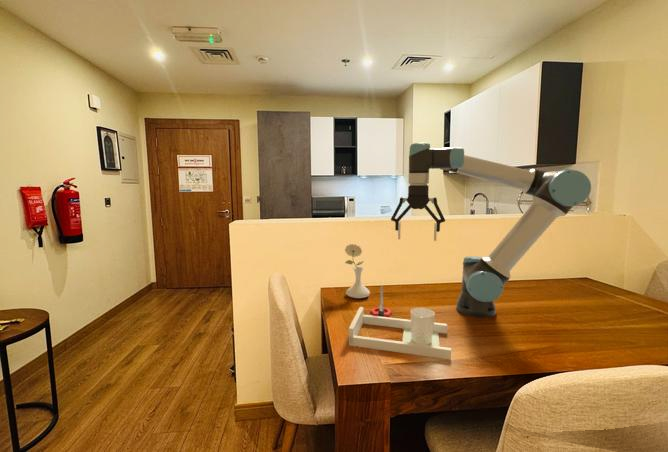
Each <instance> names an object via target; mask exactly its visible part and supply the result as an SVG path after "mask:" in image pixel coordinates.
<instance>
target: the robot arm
mask: <svg viewBox="0 0 668 452" xmlns="http://www.w3.org/2000/svg"><path fill="white" fill-rule="evenodd" d="M408 153H409V154H408V187H407V188H408V190H407V197H403V196H402V197H401V196H400V197H399V203H398V204H397V207H396V208H395V210H394V211H393V214H392V215H391V218H390V221H391V222H394V224H395V226H394V228H395V231H396V232H397V239H398V240H401V226H402V223H401V222H400V221H401V219H402V218H403V217H404V216H405V215H406V214H407V213H408V212H409V211H410V210H411V209H413V210H423V209H424V210H425V211H426V212H427V213H428V214H429V215H430V216H431V218H432V219H433V220H434V221H435V222H434V225H433V227H434V228H433V229H434V230H433V241H434V242H436V241H437V235H438V233H439V232H440V231H441V223H445V222H446V219H445V217H444V215H443V213H442V211H441V208H440V206H439V204H438V199H437V197H429V187H430V186H429V183H430V169H431V170H432V169H434V170H435V169H437V170H438V169H440V170H442V171H448V172H451V173H455V174H459V175H463V176H468V177H471V178H475V179H479V180H482V181H487V182H491V183H494V184H499V185H502V186H505V187H509V188H514V189H517V190H521V192H522V193H523V194H525V195H528V196H532V204H531V205H530V206H529V207H528V209H527V210H526V211H525V212H524V213H523V215H521V217H520V218H519V219H518V221H517V222H516V223H515V224H514V225H513V226H512V228H511V229H510V230H509V231H508V233H506V235H505V236H504V237H503V238H502V240H501V241H500V242H499V243H498V245H497V246H496V247H495V248H494V250H492V252H491V253H489V255H488V256H470V255H469V256H465V257H463V262H462V279H461V280H462V281H461V292H460V294H459V296H458V299H457V301H456V307H455V308H456V311H458V312H459V313H461V314H463V315H466V316H468V317H473V318H481V319H486V318H487V319H488V318H492V317H495V316H496V314H497V307H496V305H495V301H496V300H498V299H499V298H500V297H501V296H502V294H503V291H504V285H506V283H507V282H508V281H509V280H510V279H511V271H512V270H513V268H514V267H515V266H516V265H517V263H519V261H520V260H521V259H523V257H524V256H525V255H526V254H527V252H528V251H529V250H530V249H531V248H532V246H533V245H534V244H535V243H536V242H537V241H538V240H539V238H540V237H541V236H542V235H543V234H544V233H545V232H546V231H547V229H548V228H549V227H550V226H551V225H552V224H553V223H554V221H555V220H556V219H557V218H559V217H564V216H567V214H568V213H569V212H570V211H571V210H572V209H573V207H576V206H578V205H580V204H582V203H584V202H585V201H586V200H587V199H588V198H589V196H590V194H591V191H592V185H591V183H592V182H591V180H590V178H589V177H588V176H587V175H586V174H585V173H583V172H582V171H580V170H576V169H570V168H565V169H561V170H540V169H536V168H531V169H529V170H528V169H523V168H519V167H516V166H512V165H508V164H504V163H499V162H495V161H491V160H488V159H487V160H486V159H482V158H479V157H474V156H469V155H466V154H465V149H464V147H455V146H453V147H441V148H440V147H437V148H436V147H435V148H434V147H433V148H432V147H431V144H430V143H428V142H415V143H411V144H410V146H409V152H408ZM405 202H407V203H408V206H407V207H406V208H405V209H404V210H403V211H402V213H400V214H399V216H398V217H397V215H398V213H399V211H400V209H401V207H402V206H403V204H405ZM429 202H431V204H433V206H434V208H435V210H436V212H437V214H438V216H439V218H440V219H439V218H438V217H437V216H436V214H435V213H434V212H433V211H432V210H431V209H430V208H429V206H428V204H429ZM396 217H397V218H396Z"/></svg>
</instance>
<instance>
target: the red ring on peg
mask: <svg viewBox="0 0 668 452" xmlns="http://www.w3.org/2000/svg"><path fill="white" fill-rule="evenodd" d="M370 313H371V314H372V316H381V317H390V316H391V315H392V310H391V309H390V308H387V307H384V285H380V291H379V305H378V307H373V308H371V310H370ZM390 318H391V317H390Z"/></svg>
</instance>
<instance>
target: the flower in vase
mask: <svg viewBox="0 0 668 452" xmlns="http://www.w3.org/2000/svg"><path fill="white" fill-rule="evenodd" d="M344 252H345V254H346V255H347V256H350V257H352V258H356V257H358V256H361V254H362V253H363V250H362V248H361V247H360V245H358V244H353V243H352V244H347V245H346V246H345V249H344ZM344 263H345V264H348V265H353V264H354V266H353V267H352V269H353V270H354V274H355V283H353V285H351V286H350V287H349V288H348V289H346V291H345V294H346V295H347V297H350V298H352V299H364V298H368V297H369V296H370V294H371V291H370V290H369V289H368V288H367V287H366V286H365V285H364V284H362V282H361V279H362V278H361V276H362V273H363V270H364V267H363V266H360V265H362V264H363V263H364V260H362V261H359V262H357V263H355V261H354V260H350V259H347V260H346V261H345V262H344Z"/></svg>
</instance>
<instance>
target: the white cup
mask: <svg viewBox="0 0 668 452" xmlns="http://www.w3.org/2000/svg"><path fill="white" fill-rule="evenodd" d="M435 315H436V313H435V311H433V310H432V309H430V308H426V307H415V308H412V309H410V320H411V339H412V341H413V342H415V343H417V344H424V345H427V344H430V343H431V342H432V335H433V327H434V323H435Z"/></svg>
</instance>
